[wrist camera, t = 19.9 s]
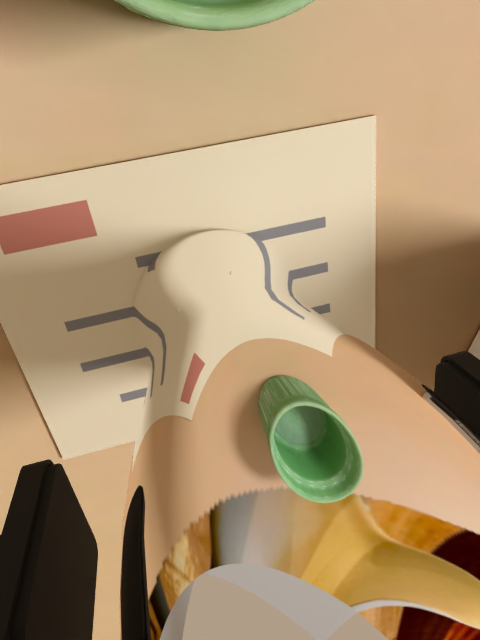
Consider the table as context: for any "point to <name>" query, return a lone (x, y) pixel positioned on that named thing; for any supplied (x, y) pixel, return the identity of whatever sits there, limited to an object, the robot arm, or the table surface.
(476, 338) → the container
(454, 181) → the table surface
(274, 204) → the letter
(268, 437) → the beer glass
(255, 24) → the ramekin
